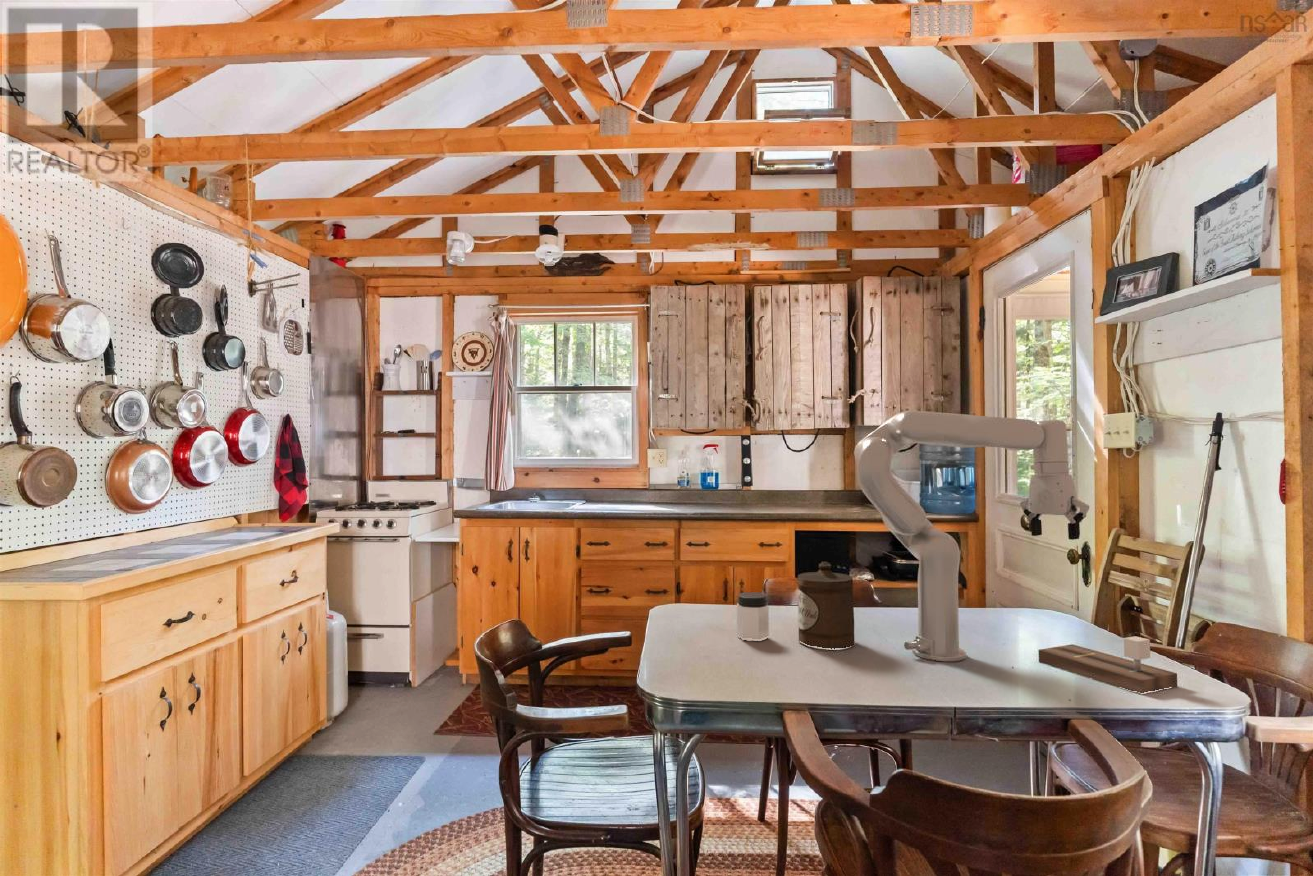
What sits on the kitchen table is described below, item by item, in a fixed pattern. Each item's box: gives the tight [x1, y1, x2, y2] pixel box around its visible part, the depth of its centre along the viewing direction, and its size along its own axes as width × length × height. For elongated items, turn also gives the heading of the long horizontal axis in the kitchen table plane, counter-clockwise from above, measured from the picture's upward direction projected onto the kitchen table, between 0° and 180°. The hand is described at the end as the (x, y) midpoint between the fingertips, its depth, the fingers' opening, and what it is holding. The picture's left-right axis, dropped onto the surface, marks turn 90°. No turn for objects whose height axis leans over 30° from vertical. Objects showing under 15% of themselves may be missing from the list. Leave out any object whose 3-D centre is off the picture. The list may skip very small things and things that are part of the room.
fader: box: [1123, 635, 1151, 670], centre depth 146 cm, size 4×3×7 cm
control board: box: [1038, 644, 1178, 693], centre depth 153 cm, size 12×24×3 cm, turn 22°
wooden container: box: [797, 561, 855, 649], centre depth 179 cm, size 15×15×22 cm
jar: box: [736, 591, 770, 639], centre depth 185 cm, size 9×8×12 cm
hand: (1054, 537), depth 165 cm, fingers open, 9 cm apart
